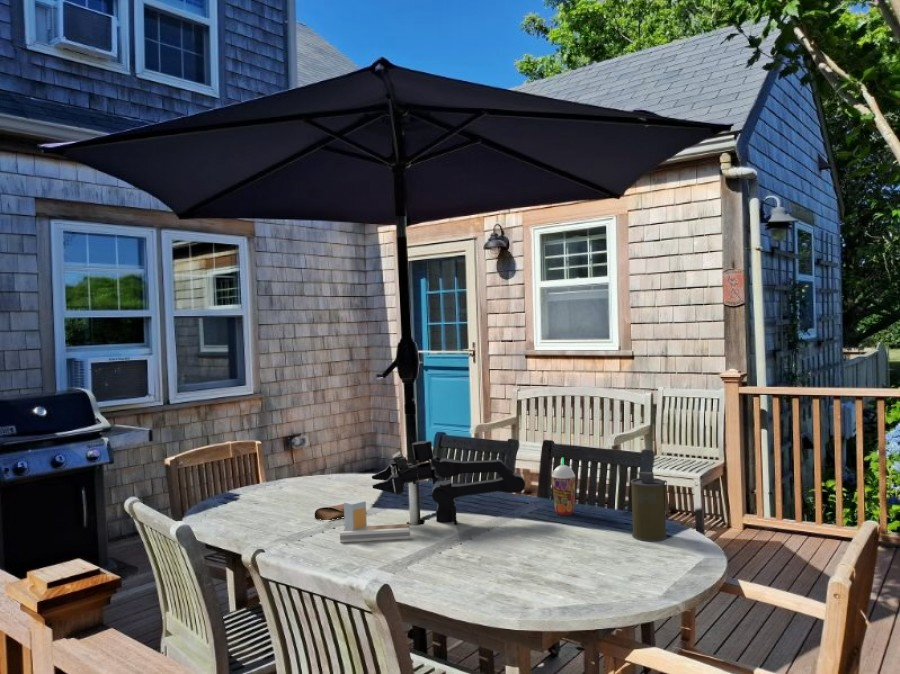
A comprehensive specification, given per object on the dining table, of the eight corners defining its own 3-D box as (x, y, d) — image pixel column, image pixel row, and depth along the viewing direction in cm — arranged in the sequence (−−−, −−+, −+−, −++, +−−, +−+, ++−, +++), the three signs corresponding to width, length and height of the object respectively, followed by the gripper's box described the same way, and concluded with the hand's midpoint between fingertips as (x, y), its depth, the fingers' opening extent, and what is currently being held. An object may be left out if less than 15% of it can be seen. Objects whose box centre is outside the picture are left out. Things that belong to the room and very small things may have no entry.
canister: (630, 540, 224) (628, 475, 224) (634, 530, 234) (632, 468, 233) (666, 542, 220) (664, 477, 220) (669, 533, 230) (667, 470, 229)
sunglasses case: (325, 522, 258) (320, 504, 260) (317, 529, 262) (312, 511, 265) (368, 512, 269) (363, 496, 271) (360, 519, 274) (355, 503, 276)
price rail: (409, 537, 233) (409, 527, 232) (409, 538, 231) (409, 529, 231) (340, 540, 231) (340, 531, 231) (340, 542, 230) (339, 533, 229)
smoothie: (550, 515, 255) (548, 459, 255) (556, 509, 263) (554, 454, 263) (573, 517, 252) (571, 460, 252) (578, 511, 260) (576, 455, 260)
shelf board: (409, 526, 248) (409, 523, 248) (410, 542, 230) (409, 539, 230) (345, 530, 247) (344, 527, 247) (340, 546, 229) (340, 543, 229)
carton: (358, 532, 240) (357, 499, 240) (367, 534, 237) (366, 501, 237) (345, 536, 236) (343, 502, 236) (353, 538, 233) (352, 504, 233)
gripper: (411, 443, 258) (367, 451, 257) (415, 459, 240) (368, 468, 238) (416, 472, 260) (373, 481, 259) (420, 490, 242) (374, 500, 240)
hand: (372, 482), depth 249 cm, fingers open, 9 cm apart
